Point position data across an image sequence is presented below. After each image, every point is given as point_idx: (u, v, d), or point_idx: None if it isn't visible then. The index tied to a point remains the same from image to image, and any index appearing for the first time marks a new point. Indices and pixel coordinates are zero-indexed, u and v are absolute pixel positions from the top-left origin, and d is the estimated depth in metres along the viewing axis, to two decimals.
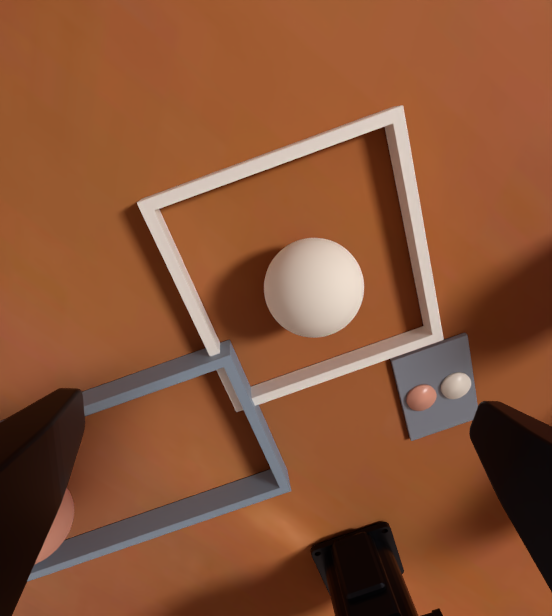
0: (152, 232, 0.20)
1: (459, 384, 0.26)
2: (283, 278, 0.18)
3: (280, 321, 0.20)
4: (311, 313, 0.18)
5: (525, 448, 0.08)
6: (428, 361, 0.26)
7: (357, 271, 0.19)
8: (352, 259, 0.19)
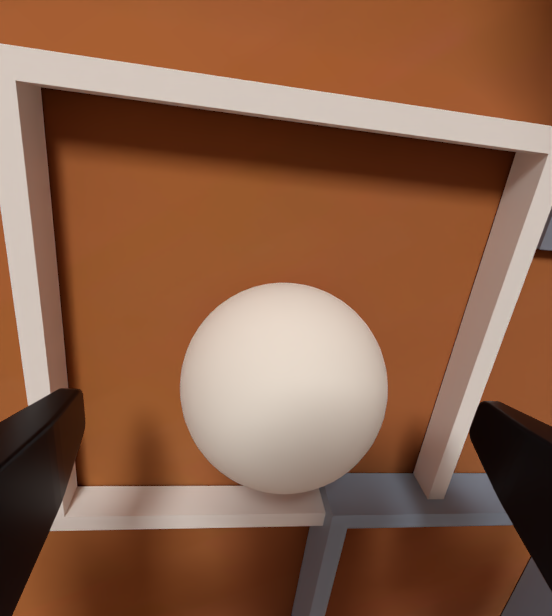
0: (96, 528, 0.13)
1: None
2: (215, 466, 0.09)
3: None
4: (300, 477, 0.08)
5: (525, 448, 0.08)
6: None
7: (276, 326, 0.08)
8: (251, 316, 0.08)
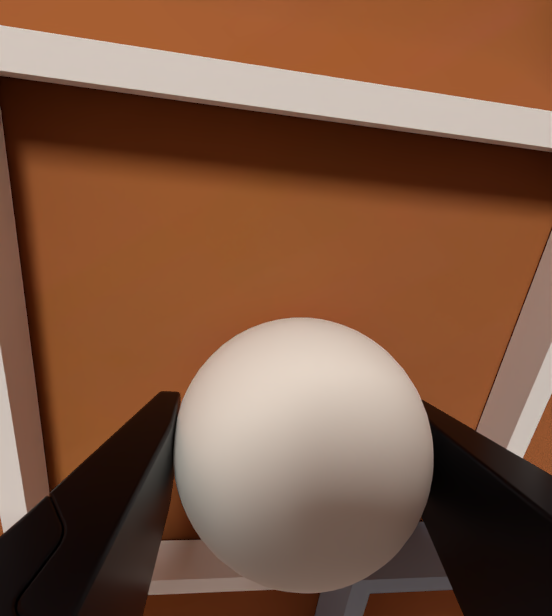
0: None
1: None
2: (217, 555, 0.07)
3: None
4: (329, 582, 0.06)
5: (435, 447, 0.08)
6: None
7: (297, 385, 0.06)
8: (263, 369, 0.06)
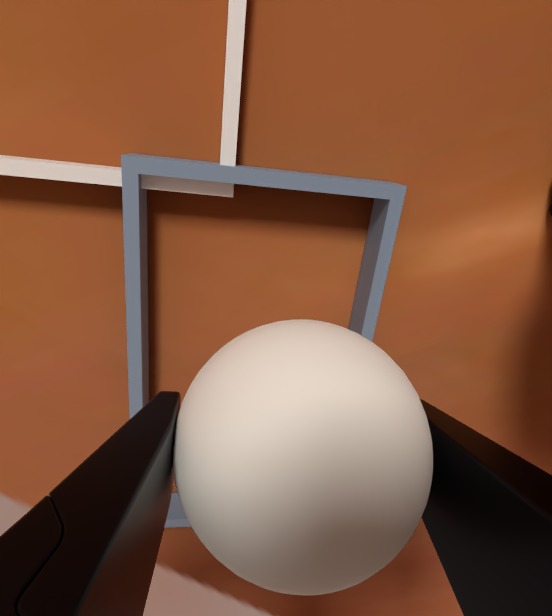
0: None
1: None
2: (216, 557, 0.07)
3: None
4: (328, 585, 0.06)
5: (435, 447, 0.08)
6: None
7: (297, 388, 0.06)
8: (263, 372, 0.06)
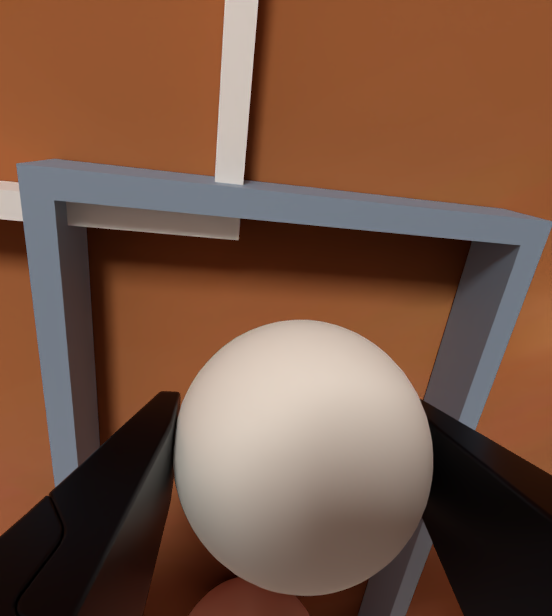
0: None
1: None
2: (216, 558, 0.07)
3: None
4: (328, 585, 0.06)
5: (435, 447, 0.08)
6: None
7: (297, 388, 0.06)
8: (263, 372, 0.06)
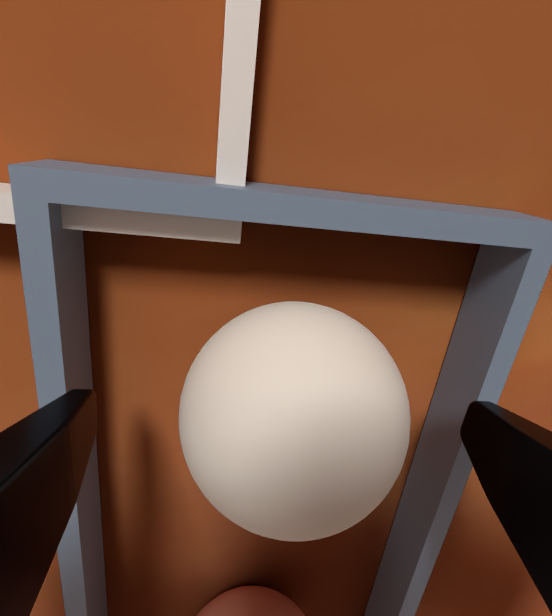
0: None
1: None
2: (218, 510, 0.08)
3: None
4: (316, 528, 0.07)
5: (514, 448, 0.08)
6: None
7: (288, 356, 0.07)
8: (259, 343, 0.07)
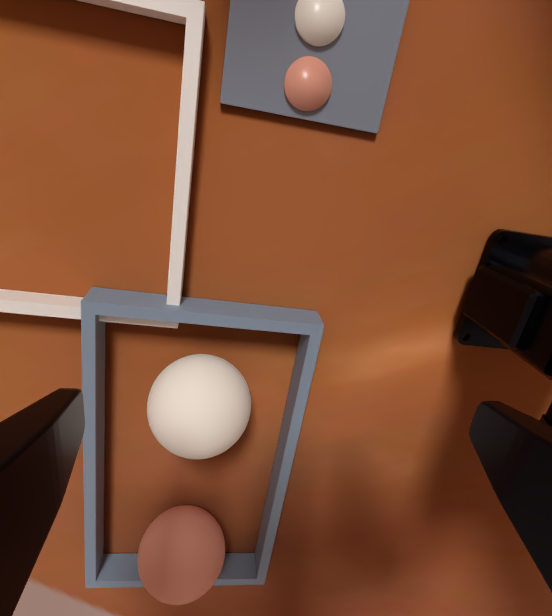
0: None
1: (319, 8, 0.16)
2: (162, 445, 0.19)
3: None
4: (200, 450, 0.18)
5: (525, 448, 0.08)
6: (250, 44, 0.16)
7: (191, 381, 0.18)
8: (180, 376, 0.18)
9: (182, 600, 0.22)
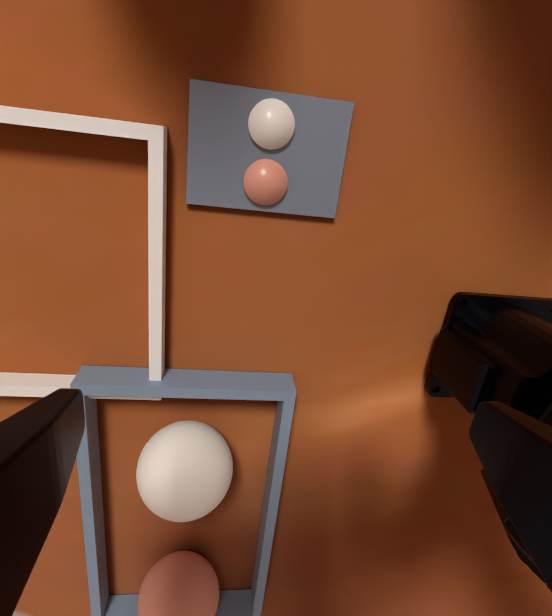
0: None
1: (270, 118, 0.17)
2: None
3: None
4: (184, 516, 0.19)
5: (525, 448, 0.08)
6: (210, 152, 0.18)
7: (173, 454, 0.19)
8: (164, 448, 0.20)
9: None
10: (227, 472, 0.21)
